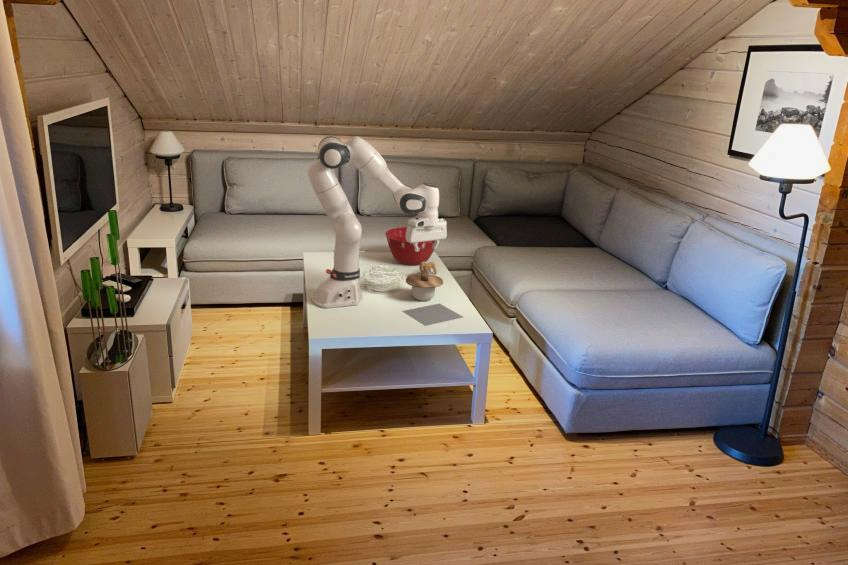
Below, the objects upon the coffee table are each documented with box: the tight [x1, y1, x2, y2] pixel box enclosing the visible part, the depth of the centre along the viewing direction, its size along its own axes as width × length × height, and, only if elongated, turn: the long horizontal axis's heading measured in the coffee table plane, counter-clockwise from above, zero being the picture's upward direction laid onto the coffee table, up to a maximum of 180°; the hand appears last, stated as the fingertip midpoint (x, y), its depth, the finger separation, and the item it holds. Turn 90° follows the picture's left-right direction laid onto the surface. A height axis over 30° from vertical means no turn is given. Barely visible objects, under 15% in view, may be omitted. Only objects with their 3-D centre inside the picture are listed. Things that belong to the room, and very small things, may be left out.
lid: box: [405, 271, 444, 289], centre depth 303 cm, size 17×17×5 cm
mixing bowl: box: [385, 226, 435, 266], centre depth 355 cm, size 28×28×16 cm
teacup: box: [411, 286, 436, 302], centre depth 305 cm, size 14×11×8 cm
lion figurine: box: [418, 261, 438, 275], centre depth 335 cm, size 15×5×9 cm, turn 154°
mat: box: [402, 303, 464, 327], centre depth 288 cm, size 20×18×1 cm
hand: (425, 250), depth 299 cm, fingers open, 8 cm apart
